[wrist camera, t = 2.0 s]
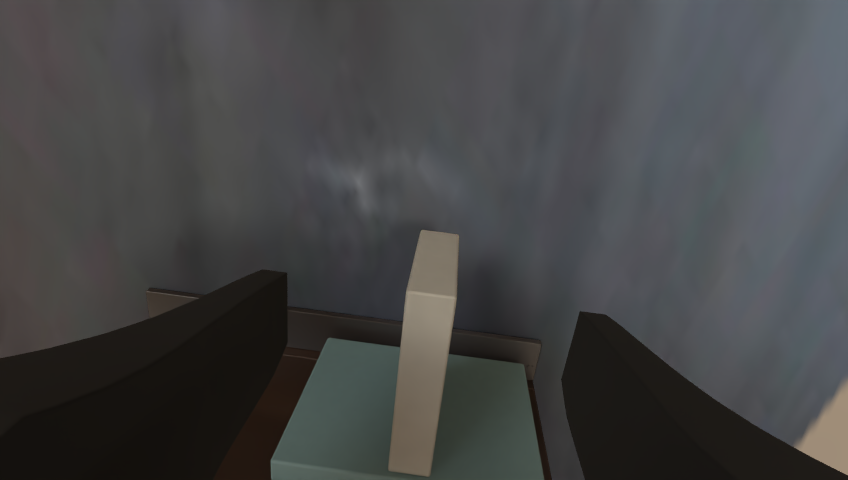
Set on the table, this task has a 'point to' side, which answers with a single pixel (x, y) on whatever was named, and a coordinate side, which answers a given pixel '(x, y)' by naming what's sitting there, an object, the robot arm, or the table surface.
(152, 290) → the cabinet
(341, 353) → the teal stand
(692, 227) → the table surface
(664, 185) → the table surface
